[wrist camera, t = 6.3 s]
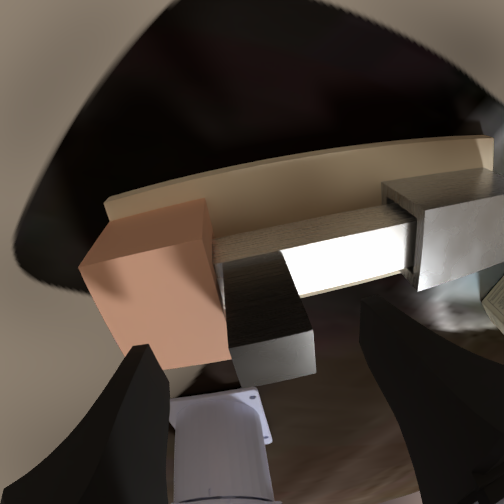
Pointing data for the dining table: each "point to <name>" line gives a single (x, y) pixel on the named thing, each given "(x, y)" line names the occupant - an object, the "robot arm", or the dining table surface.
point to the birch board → (307, 184)
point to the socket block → (160, 285)
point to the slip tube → (299, 282)
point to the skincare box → (496, 304)
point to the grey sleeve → (451, 223)
